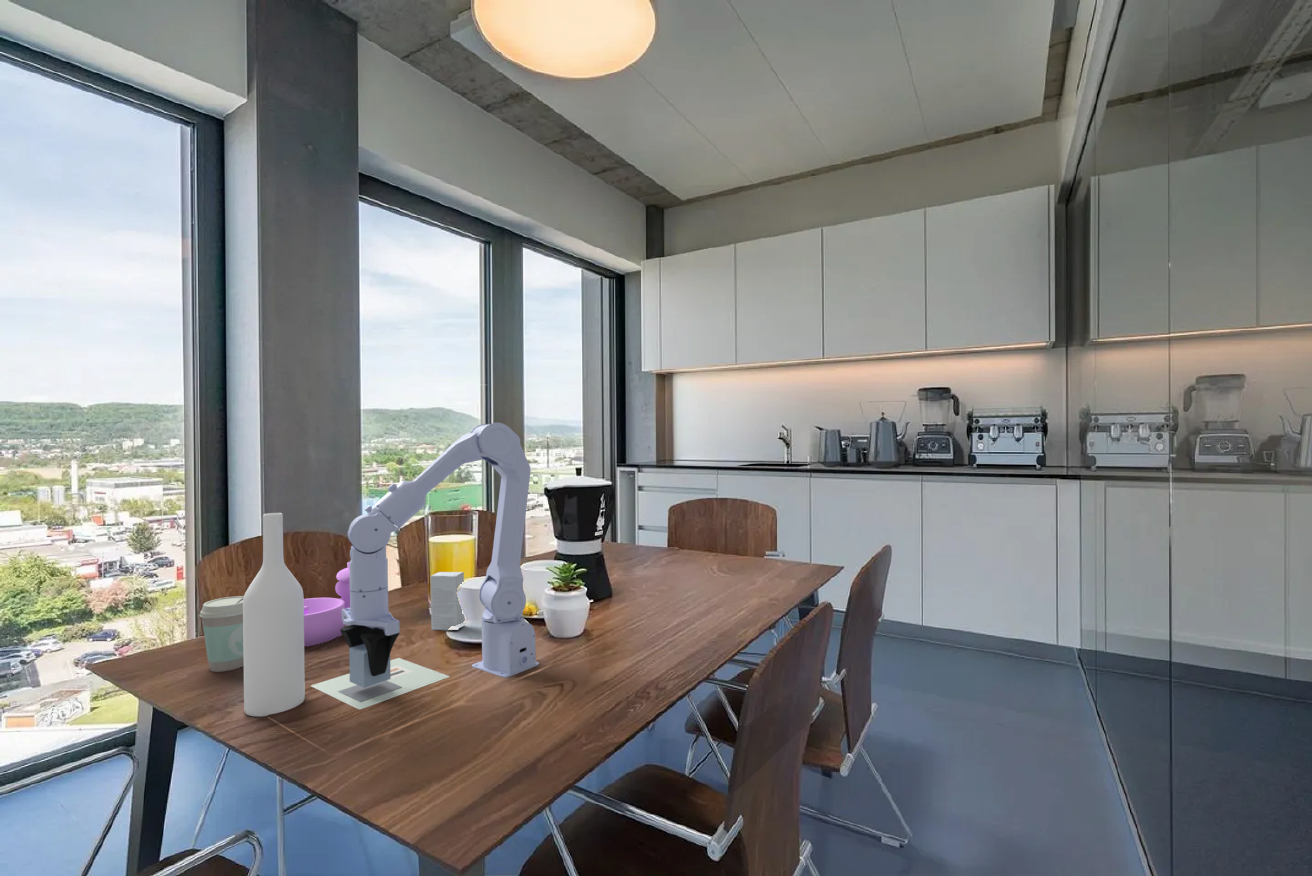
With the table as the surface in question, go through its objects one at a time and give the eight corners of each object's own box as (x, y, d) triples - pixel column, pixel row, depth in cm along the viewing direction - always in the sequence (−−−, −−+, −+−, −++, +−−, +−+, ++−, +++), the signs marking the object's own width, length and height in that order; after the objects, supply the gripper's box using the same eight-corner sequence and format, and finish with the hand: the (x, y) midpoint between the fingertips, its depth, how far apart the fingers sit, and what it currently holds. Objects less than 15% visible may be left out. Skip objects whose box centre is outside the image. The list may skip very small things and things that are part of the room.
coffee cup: (228, 676, 109) (227, 608, 109) (187, 673, 111) (187, 606, 111) (267, 659, 118) (266, 596, 118) (229, 656, 120) (228, 594, 120)
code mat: (450, 678, 107) (450, 676, 107) (359, 711, 94) (359, 709, 94) (398, 659, 117) (398, 657, 117) (310, 687, 104) (310, 685, 104)
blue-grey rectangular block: (390, 679, 102) (390, 645, 102) (364, 688, 99) (363, 653, 99) (376, 673, 105) (375, 640, 105) (349, 681, 102) (349, 647, 102)
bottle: (258, 722, 91) (256, 518, 91) (234, 709, 96) (232, 515, 96) (314, 702, 98) (312, 512, 98) (290, 691, 103) (287, 509, 103)
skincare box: (465, 625, 138) (464, 571, 138) (457, 631, 133) (456, 576, 133) (439, 625, 138) (438, 571, 138) (430, 631, 134) (429, 575, 134)
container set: (303, 652, 122) (302, 585, 122) (243, 645, 126) (242, 581, 126) (391, 616, 146) (390, 560, 146) (338, 612, 150) (338, 557, 150)
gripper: (322, 587, 103) (323, 668, 103) (368, 599, 95) (370, 689, 95) (364, 579, 109) (365, 656, 109) (411, 590, 100) (412, 674, 100)
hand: (370, 670), depth 102 cm, fingers closed on blue-grey rectangular block, 4 cm apart
